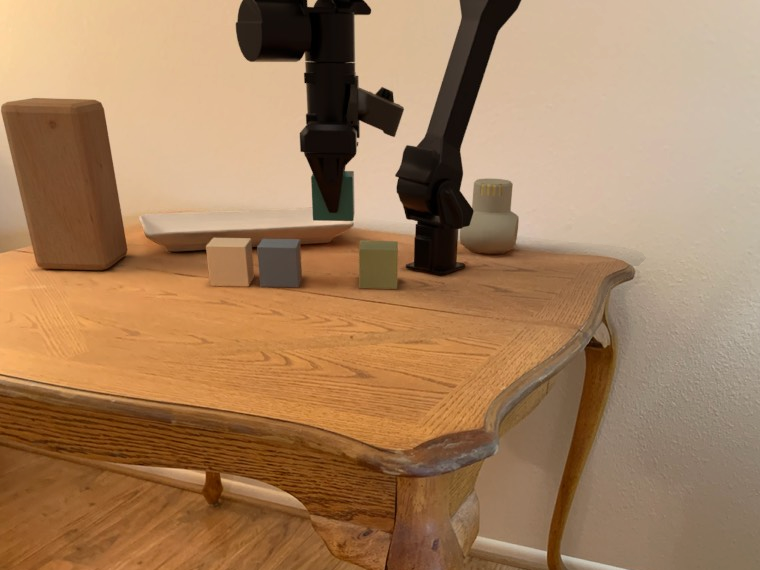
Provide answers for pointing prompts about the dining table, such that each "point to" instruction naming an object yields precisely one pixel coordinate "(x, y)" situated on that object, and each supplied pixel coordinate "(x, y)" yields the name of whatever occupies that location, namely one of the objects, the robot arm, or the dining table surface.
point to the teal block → (345, 201)
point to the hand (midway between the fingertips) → (334, 208)
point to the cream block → (230, 261)
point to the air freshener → (491, 218)
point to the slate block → (279, 262)
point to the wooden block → (66, 182)
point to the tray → (238, 227)
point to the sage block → (378, 264)
